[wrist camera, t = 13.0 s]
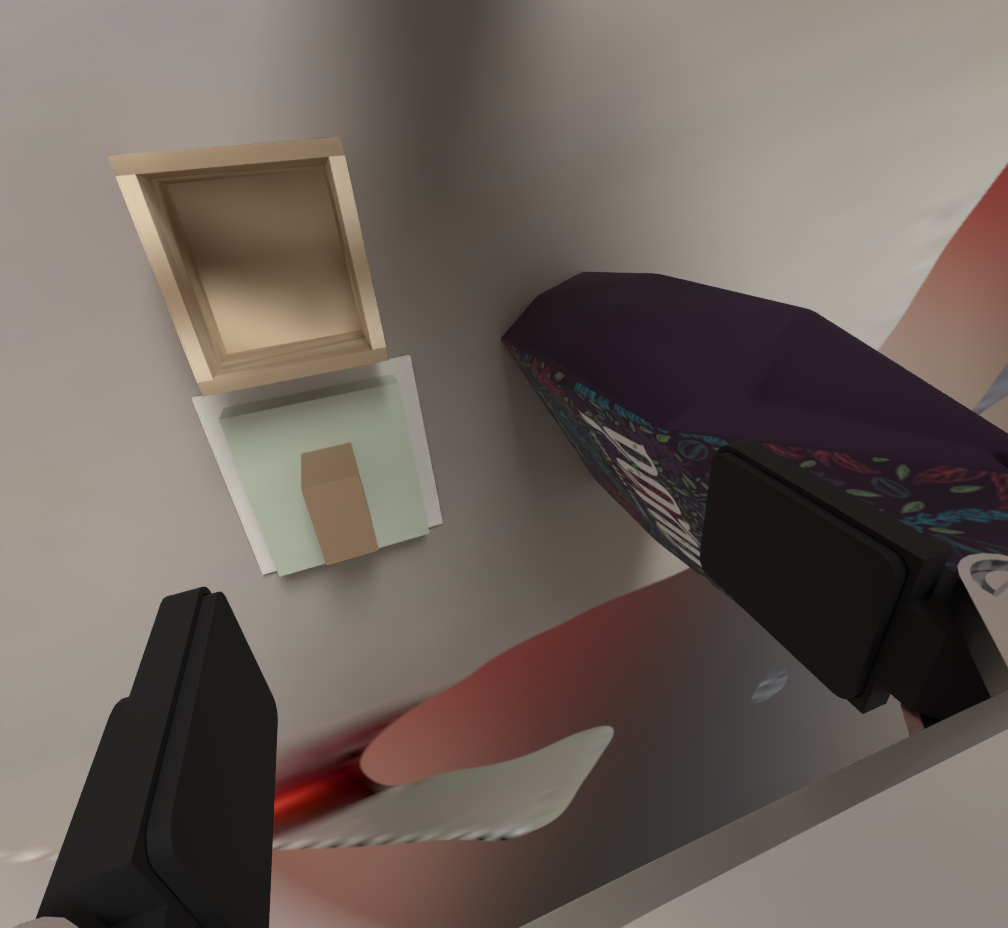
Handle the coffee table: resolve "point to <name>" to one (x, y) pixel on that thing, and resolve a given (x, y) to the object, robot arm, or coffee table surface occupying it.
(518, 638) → the coffee table surface
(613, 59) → the coffee table surface
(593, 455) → the dark patterned coffee bag
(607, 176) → the coffee table surface
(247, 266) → the box
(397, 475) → the lid
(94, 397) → the coffee table surface
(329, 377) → the mat
